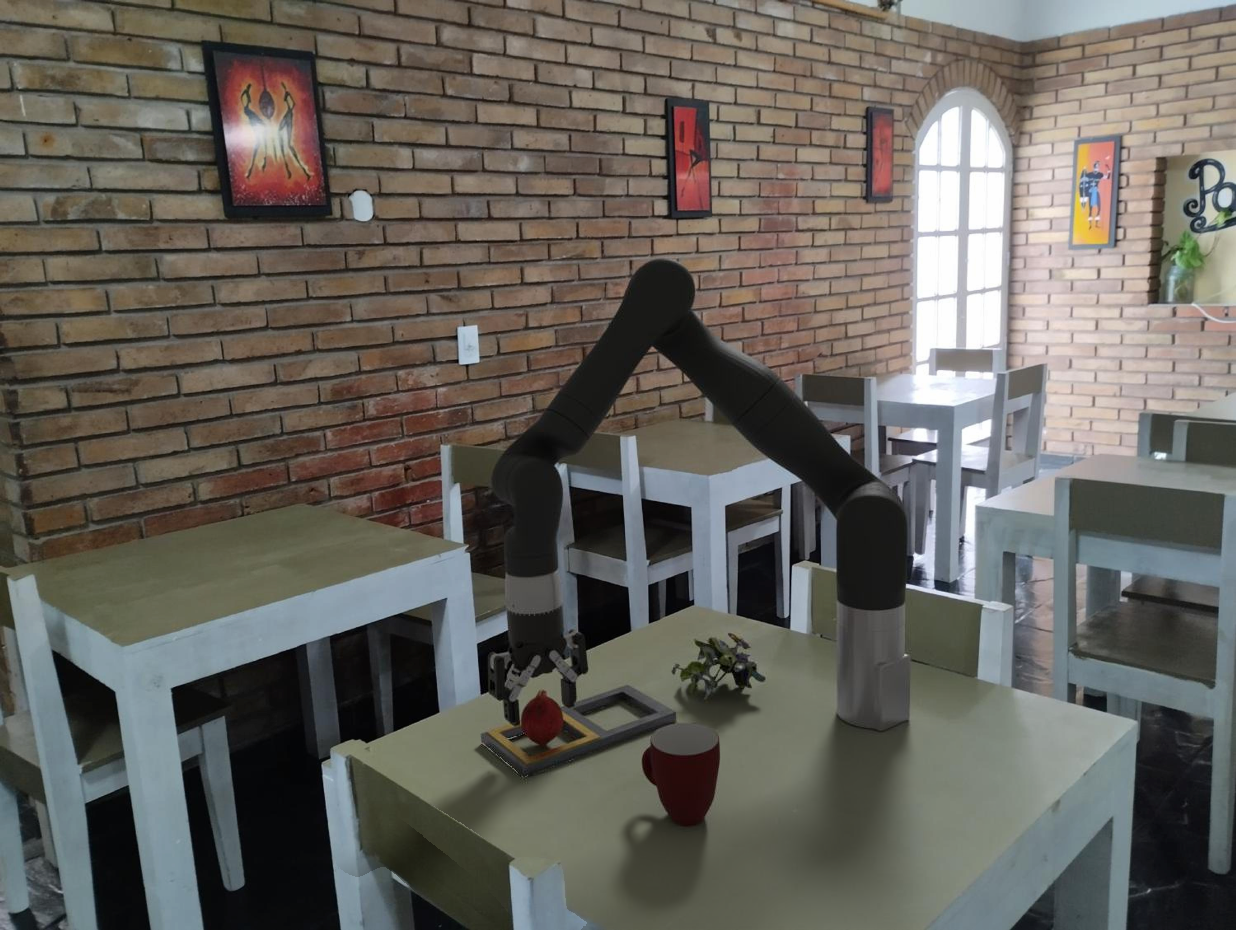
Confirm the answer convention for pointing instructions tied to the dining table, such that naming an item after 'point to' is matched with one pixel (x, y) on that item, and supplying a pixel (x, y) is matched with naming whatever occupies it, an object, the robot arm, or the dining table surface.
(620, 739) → the grey yellow flat frame
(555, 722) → the onion
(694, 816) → the mug
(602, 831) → the dining table surface
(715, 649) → the passion flower
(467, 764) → the dining table surface
